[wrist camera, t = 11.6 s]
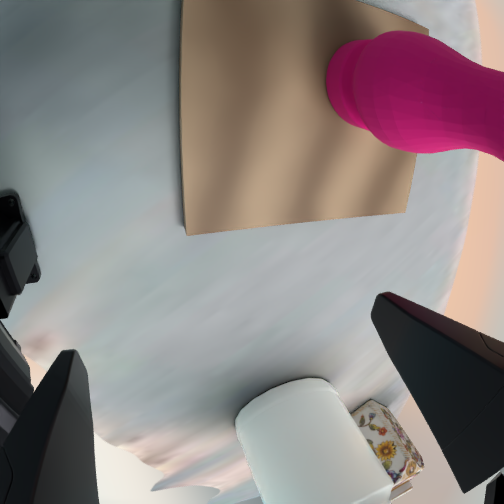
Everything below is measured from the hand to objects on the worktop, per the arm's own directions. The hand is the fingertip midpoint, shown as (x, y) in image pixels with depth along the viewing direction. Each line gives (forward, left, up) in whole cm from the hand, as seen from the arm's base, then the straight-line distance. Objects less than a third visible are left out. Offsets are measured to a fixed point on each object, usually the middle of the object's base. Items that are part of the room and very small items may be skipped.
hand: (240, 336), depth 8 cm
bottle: (+10, -30, -13) cm, 34 cm away
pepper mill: (+12, +7, -12) cm, 18 cm away
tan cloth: (+9, +5, -13) cm, 17 cm away
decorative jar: (+26, -45, -13) cm, 54 cm away
